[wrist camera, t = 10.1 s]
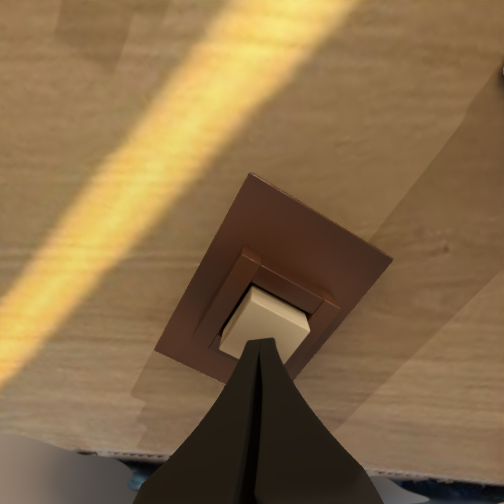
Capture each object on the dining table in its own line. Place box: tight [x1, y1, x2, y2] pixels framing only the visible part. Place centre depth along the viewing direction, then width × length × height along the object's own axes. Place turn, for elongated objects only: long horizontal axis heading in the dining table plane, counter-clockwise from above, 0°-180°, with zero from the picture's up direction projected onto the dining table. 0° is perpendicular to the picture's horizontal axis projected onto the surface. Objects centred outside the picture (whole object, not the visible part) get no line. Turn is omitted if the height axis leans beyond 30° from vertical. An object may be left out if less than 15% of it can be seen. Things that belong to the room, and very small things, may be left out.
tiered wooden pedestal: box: [154, 173, 393, 384], centre depth 16 cm, size 14×10×4 cm
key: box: [219, 285, 310, 364], centre depth 13 cm, size 4×4×2 cm
